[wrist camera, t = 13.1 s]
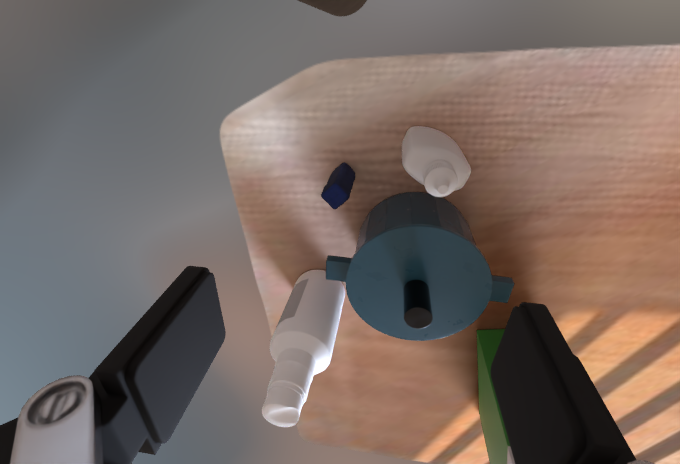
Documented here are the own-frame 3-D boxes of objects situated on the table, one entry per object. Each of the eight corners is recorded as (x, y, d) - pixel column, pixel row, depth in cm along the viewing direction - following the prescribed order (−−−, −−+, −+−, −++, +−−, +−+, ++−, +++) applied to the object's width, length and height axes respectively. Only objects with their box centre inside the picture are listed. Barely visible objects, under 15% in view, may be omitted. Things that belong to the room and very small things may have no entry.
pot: (340, 184, 38) (326, 218, 31) (507, 200, 36) (535, 240, 29) (336, 274, 44) (323, 320, 37) (478, 293, 42) (495, 345, 35)
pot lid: (351, 212, 31) (343, 241, 26) (508, 229, 29) (527, 262, 25) (343, 323, 37) (336, 360, 33) (470, 341, 36) (480, 383, 31)
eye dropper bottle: (427, 178, 36) (438, 233, 26) (395, 137, 35) (394, 177, 24) (464, 153, 34) (492, 201, 24) (432, 108, 33) (447, 139, 22)
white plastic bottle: (289, 272, 45) (230, 392, 30) (337, 264, 43) (302, 388, 28) (305, 310, 48) (260, 439, 33) (351, 305, 46) (326, 438, 31)
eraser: (330, 171, 37) (317, 196, 32) (345, 159, 36) (335, 182, 31) (343, 186, 38) (333, 212, 32) (358, 174, 37) (351, 199, 31)
